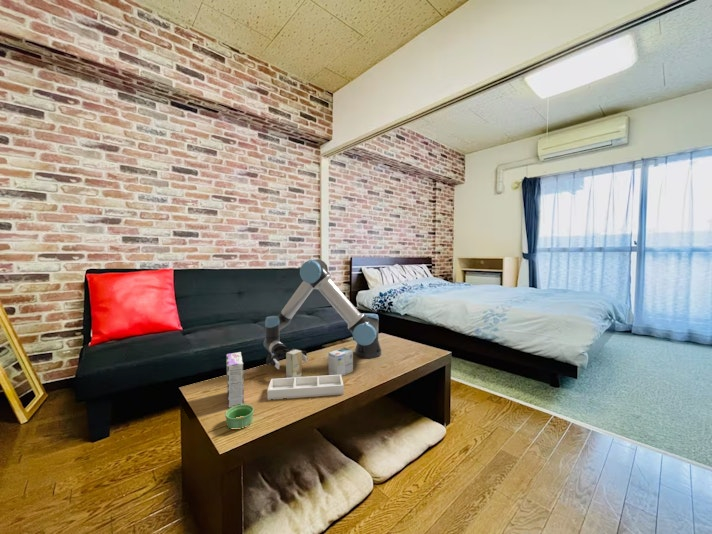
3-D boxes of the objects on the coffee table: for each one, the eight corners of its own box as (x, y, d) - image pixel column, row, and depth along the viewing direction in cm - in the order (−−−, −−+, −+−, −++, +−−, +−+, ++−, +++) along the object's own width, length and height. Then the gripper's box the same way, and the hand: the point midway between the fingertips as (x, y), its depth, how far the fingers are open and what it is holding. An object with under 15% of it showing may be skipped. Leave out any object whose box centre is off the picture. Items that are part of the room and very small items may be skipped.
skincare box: (292, 381, 131) (292, 354, 130) (285, 379, 133) (285, 352, 133) (302, 376, 136) (302, 350, 136) (295, 373, 139) (295, 348, 138)
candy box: (227, 392, 121) (226, 353, 120) (242, 389, 123) (241, 351, 122) (227, 408, 108) (226, 365, 107) (244, 405, 111) (243, 362, 110)
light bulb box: (344, 367, 146) (344, 346, 146) (353, 371, 141) (353, 350, 141) (327, 374, 139) (327, 351, 138) (337, 378, 134) (336, 355, 133)
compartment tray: (341, 382, 129) (341, 374, 129) (343, 394, 119) (343, 385, 119) (271, 387, 125) (271, 378, 125) (267, 399, 114) (267, 390, 114)
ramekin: (231, 416, 103) (231, 404, 103) (257, 415, 104) (256, 403, 103) (221, 432, 94) (220, 419, 94) (249, 431, 95) (249, 418, 94)
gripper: (300, 352, 159) (317, 365, 141) (254, 361, 146) (266, 377, 128) (300, 338, 159) (317, 350, 141) (253, 347, 145) (265, 360, 127)
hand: (292, 362), depth 134 cm, fingers open, 13 cm apart
